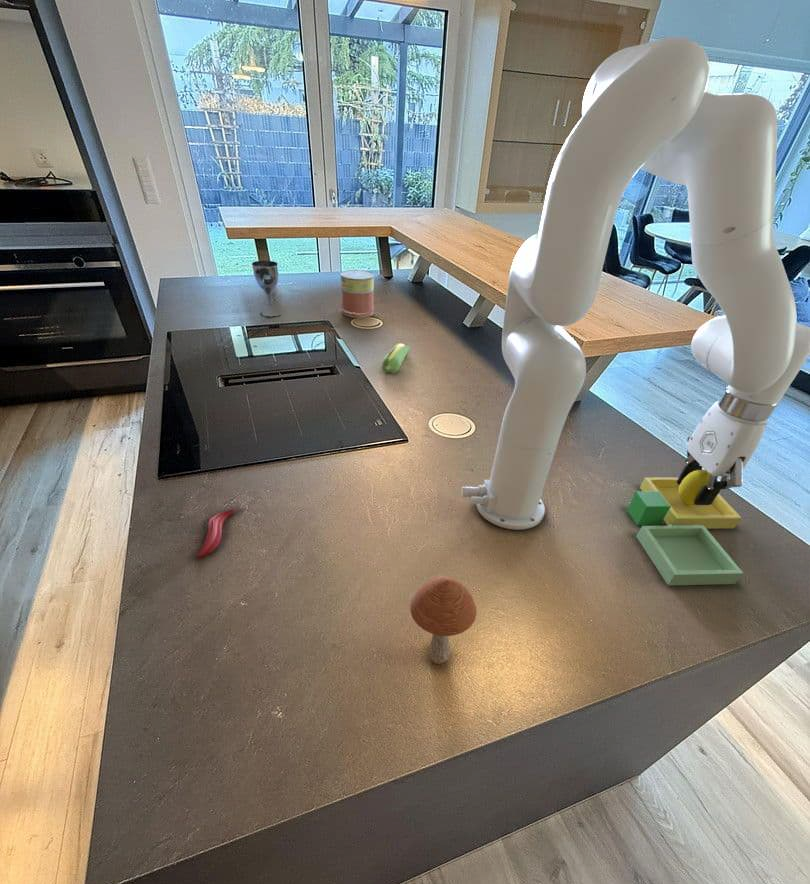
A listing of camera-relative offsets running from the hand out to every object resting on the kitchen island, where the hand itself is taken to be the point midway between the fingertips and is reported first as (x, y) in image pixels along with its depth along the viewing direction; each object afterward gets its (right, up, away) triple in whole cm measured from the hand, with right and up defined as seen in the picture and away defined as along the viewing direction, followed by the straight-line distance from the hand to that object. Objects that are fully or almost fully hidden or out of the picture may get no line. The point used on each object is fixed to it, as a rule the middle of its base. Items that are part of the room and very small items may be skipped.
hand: (693, 492), depth 87 cm
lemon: (0, -2, +2) cm, 3 cm away
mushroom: (-51, -25, -25) cm, 62 cm away
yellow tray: (0, -3, +2) cm, 4 cm away
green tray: (-7, -12, -9) cm, 17 cm away
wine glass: (-100, +68, +70) cm, 140 cm away
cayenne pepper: (-86, -8, -10) cm, 87 cm away
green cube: (-10, -5, -1) cm, 11 cm away
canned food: (-71, +72, +76) cm, 127 cm away
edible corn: (-57, +42, +45) cm, 84 cm away
